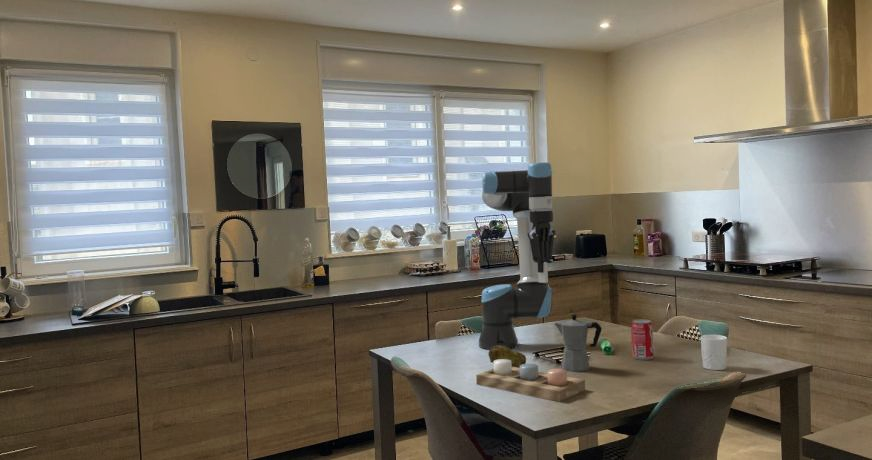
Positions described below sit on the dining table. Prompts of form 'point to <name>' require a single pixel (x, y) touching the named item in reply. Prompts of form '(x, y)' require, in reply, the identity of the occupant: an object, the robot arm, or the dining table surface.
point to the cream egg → (502, 367)
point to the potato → (506, 355)
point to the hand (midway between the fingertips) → (543, 282)
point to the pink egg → (557, 377)
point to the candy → (606, 346)
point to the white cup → (714, 351)
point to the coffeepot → (576, 343)
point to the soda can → (642, 339)
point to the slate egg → (529, 372)
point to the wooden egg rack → (531, 385)
